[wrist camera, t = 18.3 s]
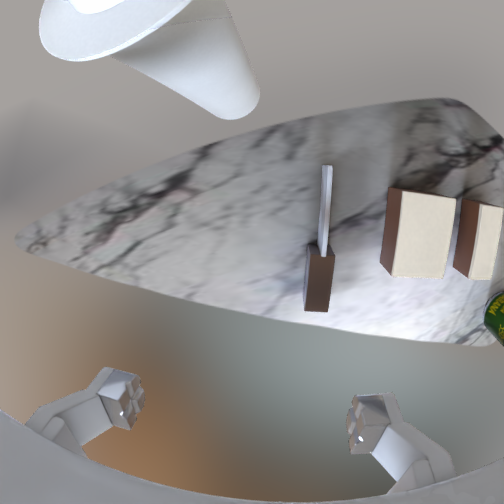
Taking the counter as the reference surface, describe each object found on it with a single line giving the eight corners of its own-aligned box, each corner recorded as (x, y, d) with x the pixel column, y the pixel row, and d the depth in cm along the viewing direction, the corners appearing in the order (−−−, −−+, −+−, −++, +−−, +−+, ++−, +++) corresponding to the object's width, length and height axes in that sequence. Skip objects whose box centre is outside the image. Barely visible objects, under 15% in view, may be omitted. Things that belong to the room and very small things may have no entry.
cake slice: (461, 198, 24) (482, 204, 20) (482, 201, 24) (503, 207, 20) (452, 266, 26) (470, 280, 22) (472, 267, 26) (491, 280, 22)
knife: (312, 164, 25) (316, 164, 22) (336, 166, 25) (343, 166, 21) (302, 296, 29) (304, 314, 26) (324, 297, 29) (328, 315, 25)
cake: (388, 186, 25) (403, 191, 21) (436, 193, 24) (456, 198, 21) (379, 262, 27) (392, 277, 23) (426, 264, 27) (442, 278, 23)
